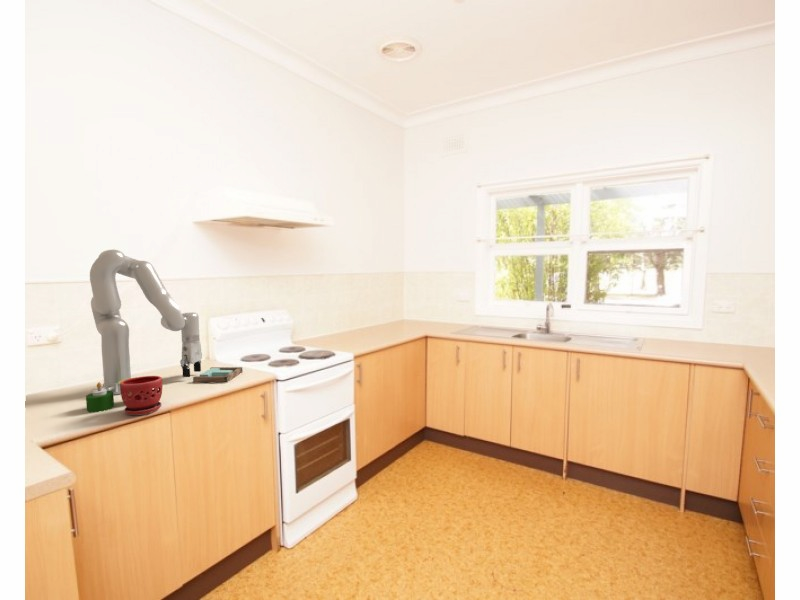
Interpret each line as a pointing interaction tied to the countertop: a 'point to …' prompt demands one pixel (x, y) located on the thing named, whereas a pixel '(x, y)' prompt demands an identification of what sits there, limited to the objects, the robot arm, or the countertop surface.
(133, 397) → the plant pot
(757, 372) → the countertop surface
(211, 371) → the teal T-block
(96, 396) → the candle
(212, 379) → the walnut bay
